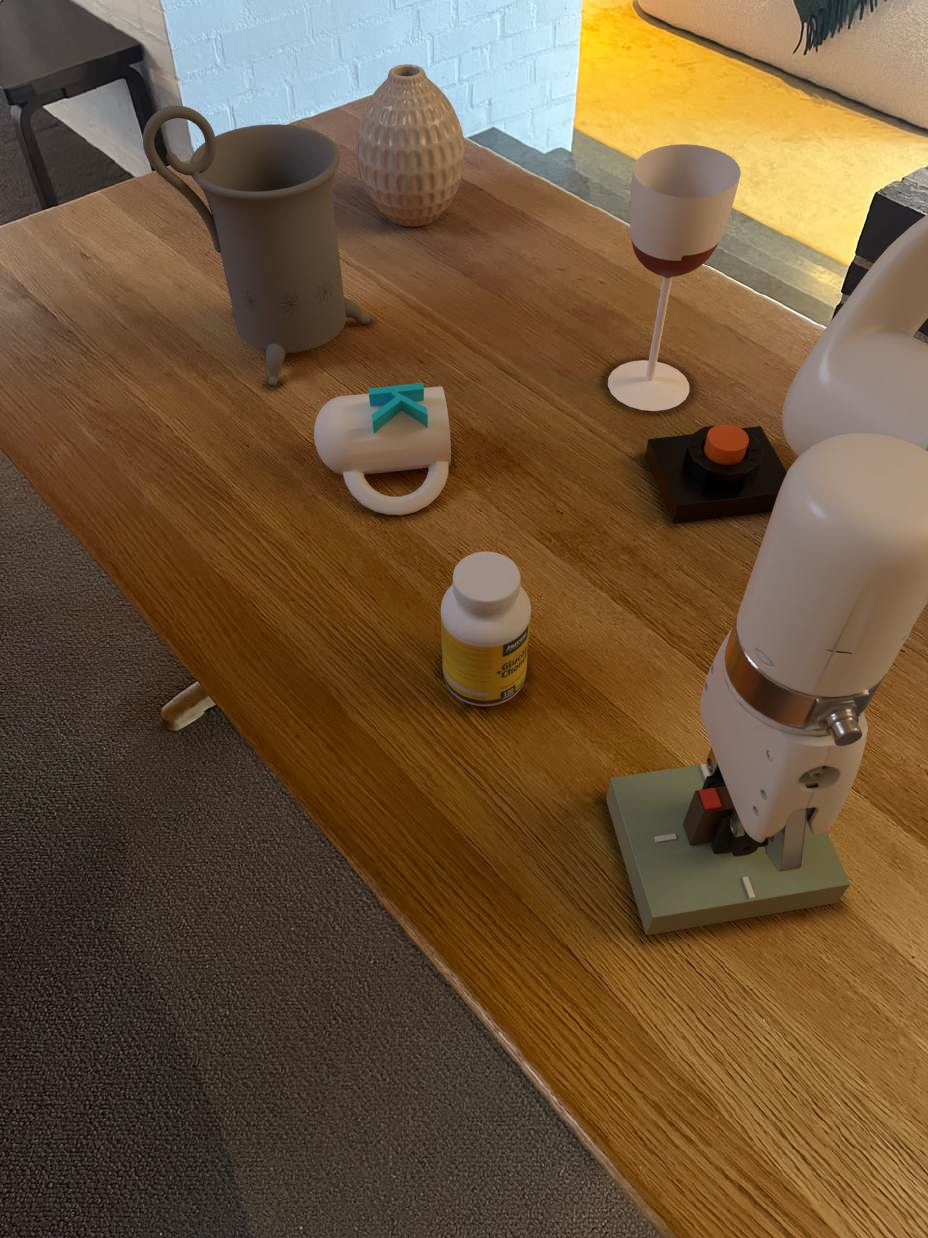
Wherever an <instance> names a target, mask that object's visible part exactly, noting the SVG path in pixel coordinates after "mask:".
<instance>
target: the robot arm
mask: <svg viewBox="0 0 928 1238" xmlns="http://www.w3.org/2000/svg"><path fill="white" fill-rule="evenodd" d="M927 319H928V214H926V215H924V216H923V217H922V218H920V219H919V220H918V221H916V222H915V223H914V224H912V225H911V226H909V227H908V229H906V230H905V231H904V232H903V233H902V234H901V235H899V237H897V238H896V239H895V240H894V241H893V242H892V243H891V244H890V245H889V246H888V247H887V248H886V249H885V250H884V252H882V254H881V255H880V256H879V257H878V258H877V260H876V261H874V263H873V265H872V266H871V267H870V269H869V270H868V271H867V272H866V273H865V274H864V276H863V278H862V279H861V280H860V281H859V282H858V284H857V286H856V287H855V289H853V291H852V293H851V294H850V295H849V296H848V297H847V299H846V301H844V303H843V305H842V306H841V307H840V308H839V310H838V311H837V312H836V314H835V315H834V317H833V318H832V319H831V321H830V322H829V323H828V324H827V326H826V328H825V329H824V330H823V331H822V333H821V334H820V336H819V337H818V339H817V340H816V341H815V343H814V344H813V346H812V348H811V349H810V351H809V352H808V354H807V356H806V357H805V359H804V360H803V362H802V363H801V365H800V366H799V368H798V370H797V372H796V373H795V376H794V377H793V380H792V381H791V383H790V385H789V387H788V390H787V393H786V396H785V399H784V402H783V407H782V411H781V429H782V433H783V437H784V439H785V441H786V443H787V445H788V446H789V448H790V449H791V451H792V452H793V453H794V455H796V457H797V458H796V459H795V460H794V462H793V463H792V464H791V465H790V467H789V468H788V469H787V471H786V472H787V474H786V476H785V479H784V481H783V483H782V486H781V488H780V490H779V493H778V496H777V499H776V502H775V505H774V508H773V511H771V513H770V517H769V520H768V523H767V525H766V528H765V532H764V535H763V538H762V541H761V544H760V547H759V550H758V553H757V556H756V558H755V562H754V564H753V566H752V567H753V568H752V570H751V573H750V575H749V580H748V583H747V585H746V588H745V591H744V594H743V597H742V600H741V603H740V606H739V608H738V610H737V614H736V616H735V619H734V622H733V625H732V627H731V629H730V630H729V632H728V633H727V635H726V636H725V638H724V639H723V641H722V642H721V645H720V647H719V649H718V650H717V652H716V654H715V657H714V658H713V661H712V663H711V665H710V668H709V669H708V673H707V676H706V678H705V681H704V684H703V687H702V690H701V695H700V700H699V713H700V718H701V722H702V726H703V728H704V731H705V733H706V736H707V739H708V742H709V744H710V749H709V752H708V754H707V756H706V763H707V767H708V770H709V772H710V774H711V776H707V777H706V780H705V782H704V785H703V787H702V789H709V788H715V787H721V786H727V789H728V792H729V794H730V797H731V799H732V802H733V804H734V807H735V808H734V810H733V813H732V815H730V816H726V817H724V818H722V820H721V823H720V825H719V827H718V830H717V832H716V834H715V837H714V839H713V841H712V845H711V847H712V850H713V853H714V854H723V853H729V852H732V854H733V856H745V855H749V854H752V853H754V852H755V851H756V850H757V849H758V847H765V849H766V852H765V853H766V854H767V856H768V857H769V859H770V860H771V862H772V863H773V865H774V866H775V868H776V870H777V871H779V872H781V871H787V870H793V869H799V868H801V864H802V855H803V846H804V837H805V828H806V821H807V823H808V825H809V827H810V830H811V832H812V834H813V835H817V834H821V833H824V832H828V831H829V830H830V829H831V828H832V826H833V824H834V823H835V822H836V819H837V818H838V816H839V814H840V813H841V810H842V809H843V807H844V804H845V803H846V801H847V798H848V796H849V794H850V793H851V792H850V791H851V790H852V787H853V785H854V783H855V780H856V778H857V775H858V772H859V769H860V766H861V764H862V759H863V755H864V752H865V747H866V742H867V737H868V731H869V726H868V722H867V719H866V716H865V712H866V710H867V709H868V706H869V705H870V703H871V701H872V699H873V698H874V696H875V694H876V693H877V691H878V689H879V687H880V686H881V684H882V682H883V680H884V679H885V677H886V675H887V673H888V672H889V670H890V668H891V667H892V665H893V663H894V662H895V660H896V658H897V657H898V655H899V653H900V651H901V650H902V648H903V646H904V644H905V643H906V641H907V639H908V638H909V636H910V634H911V632H912V631H913V629H914V626H915V624H916V622H917V620H918V619H919V617H920V615H921V614H922V612H923V610H924V609H925V607H926V605H928V343H926V342H924V341H923V340H921V339H918V338H917V337H915V335H916V334H917V331H918V330H919V329H920V328H921V327H922V326H923V324H924V323H925V322H926V321H927Z"/></svg>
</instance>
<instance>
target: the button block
mask: <svg viewBox="0 0 928 1238" xmlns="http://www.w3.org/2000/svg"><path fill="white" fill-rule="evenodd" d="M717 425H718V424H716V425H708V426H704V427H701V428H700V429H698V430H696V431H695V432H694V433H689V434H680V435H672V436H664V437H656V438H654V437H653V438H648V439H647V444H646V449H645V454H644V458H645V461H646V462H647V463H646V464H647V465H648V467H649V470H650V471H651V474H652V477H653V480H654V481H655V484H656V486H657V488H658V490H659V492H660V495H661V497H662V500H663V503H664V504H665V506H666V509H667V511H668V514H669V516H670V518H671V520H672V523H673V524H678V523H687V522H694V521H702V520H710V519H719V518H726V517H733V516H735V517H736V516H741V515H742V516H743V515H751V514H759V513H766V512H772V511H773V508H774V505H775V502H776V499H777V496H778V493H779V490H780V488H781V486H782V483H783V481H784V479H785V476H786V474H787V472H788V471H787V470H786V468H785V466H784V465H783V463H782V461H781V459H780V458H779V456H778V454H777V451H775V448H774V447H773V444H772V443H771V442H770V440H769V438H768V436H767V434H766V432H765V430H764V429H763V427H762V426H761V425H759V426H758V425H757V426H751V427H750V426H749V427H740V428H741V429H742V430H744V431H745V432H746V434H747V435H748V438H749V443H748V446H747V450H746V453H745V456H744V459H743V460H742V461H741V462H740V463H738V464H733V465H724V464H720V463H715V462H713V461H712V460H710V459H709V458H707V457H706V455H705V453H704V446H705V442H706V438H707V434H708V431H709V430H710V429H711V428H712V427H714V426H717Z"/></svg>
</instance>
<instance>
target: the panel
mask: <svg viewBox="0 0 928 1238" xmlns="http://www.w3.org/2000/svg"><path fill="white" fill-rule="evenodd" d="M707 776H711V774H710V772H709V770H708V767H707V762H706V763H699V764H693V765H686V766H679V767H674V768H667V769H660V770H653V771H647V772H646V771H645V772H642V773H641V772H640V773H634V774H628V775H620V776H614V777H610V780H609V784H608V788H607V793H606V797H605V801H606V804H607V808H608V812H609V814H610V818H611V821H612V825H613V828H614V831H615V836H616V839H617V842H618V845H619V849H620V851H621V856H622V859H623V862H624V866H625V869H626V873H627V877H628V879H629V883H630V886H631V889H632V893H633V896H634V900H635V904H636V907H637V910H638V914H639V917H640V921H641V924H642V927H643V931H644V934H645V936H652V935H658V934H664V933H670V932H674V931H676V932H677V931H680V930H681V931H682V930H687V929H693V928H699V927H704V926H709V925H716V924H722V923H728V922H734V921H739V920H744V919H751V918H757V917H763V916H767V915H775V914H781V913H786V912H787V913H788V912H792V911H798V910H803V909H804V910H805V909H809V908H810V909H811V908H816V907H820V906H827V905H834V904H837V903H838V902H839V901H840V900H841V898H842V897H843V896H844V894H845V893H846V891H847V890H848V889H849V887H850V886H851V881H850V879H849V877H848V875H847V872H846V870H845V867H844V865H843V864H842V861H841V859H840V856H839V855H838V852H837V849H836V848H835V846H834V843H833V841H832V839H831V837H830V834H829V832H828V831H827V832H824V833H821V834H817V835H813V834H812V832H811V830H810V827H809V825H808V823H807V821H806V828H805V837H804V846H803V855H802V864H801V868H799V869H793V870H787V871H781V872H779V871H777V870H776V868H775V866H774V865H773V863H772V862H771V860H770V859H769V857H768V856H767V854H766V853H765V852H766V849H765V847H758V849H757V850H756V851H755V852H754V853H752V854H749V855H745V856H733V854H732V852H729V853H723V854H714V853H713V850H712V847H711V845H712V842H710V843H704V844H697V845H691V846H690V844H689V841H688V838H687V835H686V832H685V829H684V827H683V822H684V819H685V816H686V814H687V811H688V808H689V806H690V803H691V800H692V798H693V795H694V792H695V791H696V790H702V787H703V785H704V782H705V780H706V777H707Z"/></svg>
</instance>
